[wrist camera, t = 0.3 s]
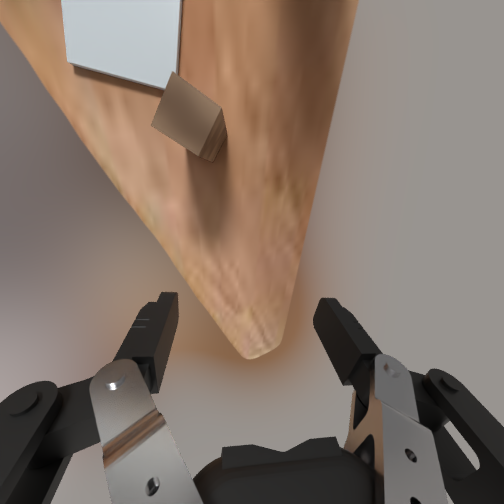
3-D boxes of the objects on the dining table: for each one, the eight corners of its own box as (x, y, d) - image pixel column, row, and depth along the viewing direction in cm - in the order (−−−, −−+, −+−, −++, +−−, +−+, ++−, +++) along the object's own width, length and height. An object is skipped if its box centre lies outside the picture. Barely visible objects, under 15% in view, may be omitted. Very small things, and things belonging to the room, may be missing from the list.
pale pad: (59, -88, 22) (51, -99, 21) (184, -41, 24) (182, -50, 24) (72, 65, 27) (67, 61, 26) (176, 93, 29) (174, 91, 28)
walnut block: (199, 114, 31) (172, 70, 18) (227, 134, 32) (221, 107, 19) (185, 144, 32) (150, 125, 19) (212, 162, 33) (198, 156, 20)
